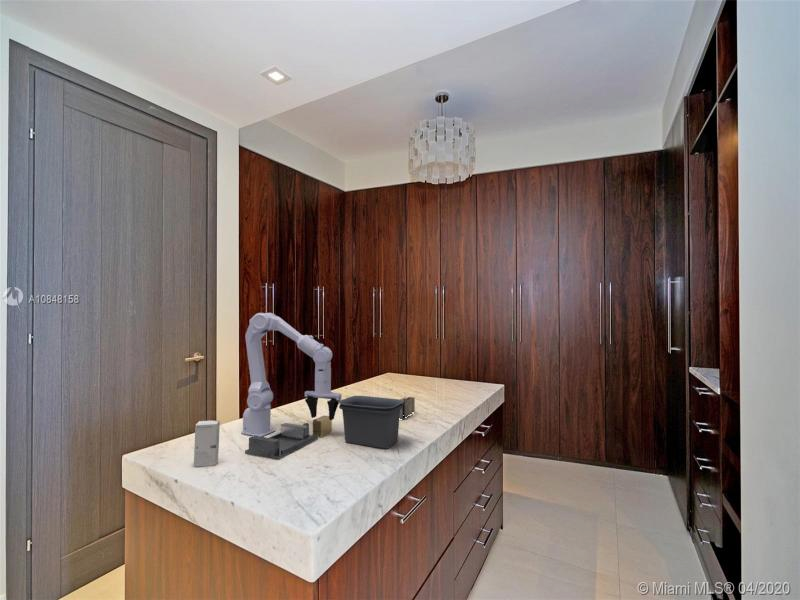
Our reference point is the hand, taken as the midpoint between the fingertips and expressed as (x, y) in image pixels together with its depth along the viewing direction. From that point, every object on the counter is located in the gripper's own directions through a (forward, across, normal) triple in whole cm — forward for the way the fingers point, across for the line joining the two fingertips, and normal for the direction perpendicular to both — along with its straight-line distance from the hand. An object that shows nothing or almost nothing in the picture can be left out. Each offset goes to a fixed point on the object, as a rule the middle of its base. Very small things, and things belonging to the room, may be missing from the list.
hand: (322, 418), depth 146 cm
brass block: (+6, 0, 0) cm, 6 cm away
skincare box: (+6, +16, +36) cm, 40 cm away
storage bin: (+6, -20, 0) cm, 21 cm away
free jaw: (+5, +5, +7) cm, 10 cm away
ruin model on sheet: (+7, -19, -34) cm, 40 cm away
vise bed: (+6, +5, +16) cm, 17 cm away
